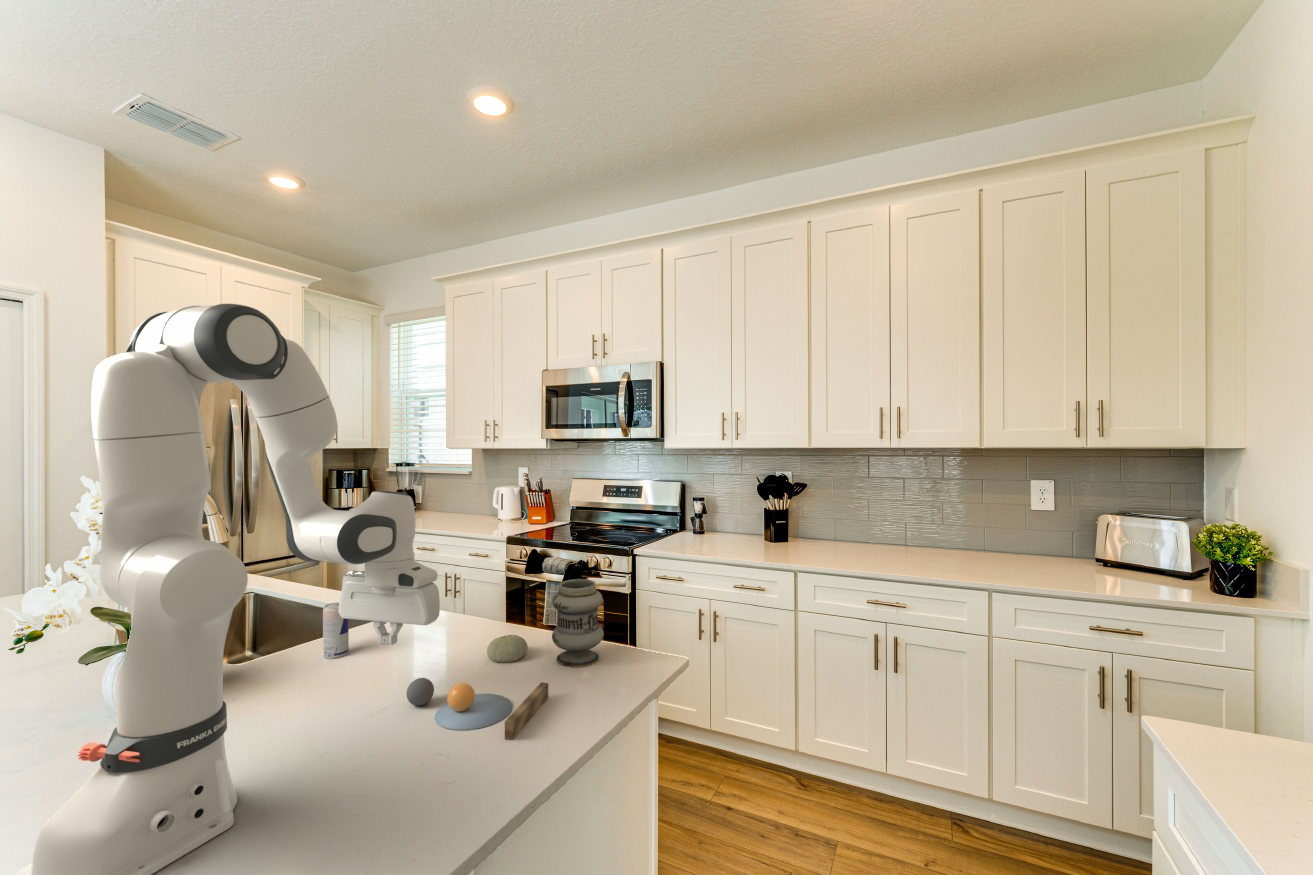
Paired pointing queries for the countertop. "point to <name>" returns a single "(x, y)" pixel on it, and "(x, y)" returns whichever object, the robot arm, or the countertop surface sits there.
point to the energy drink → (334, 632)
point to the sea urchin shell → (507, 648)
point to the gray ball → (420, 691)
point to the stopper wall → (526, 711)
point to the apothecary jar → (577, 622)
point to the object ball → (461, 697)
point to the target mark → (475, 713)
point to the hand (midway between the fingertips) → (387, 643)
